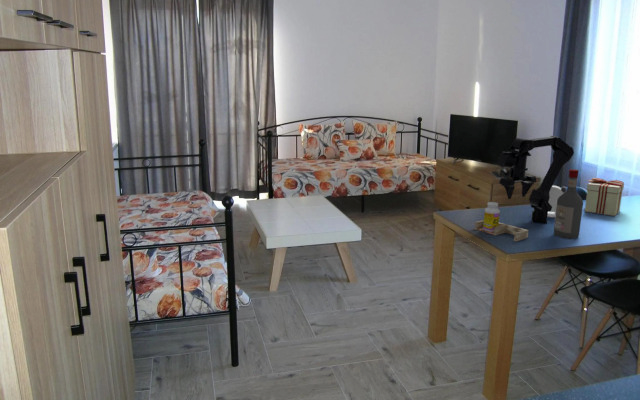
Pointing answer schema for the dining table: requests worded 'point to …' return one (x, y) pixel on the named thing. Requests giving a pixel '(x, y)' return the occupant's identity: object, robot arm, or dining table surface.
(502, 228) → the rack
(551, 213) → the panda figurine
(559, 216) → the liquor
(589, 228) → the dining table surface
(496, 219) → the supplement bottle
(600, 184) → the gift box
